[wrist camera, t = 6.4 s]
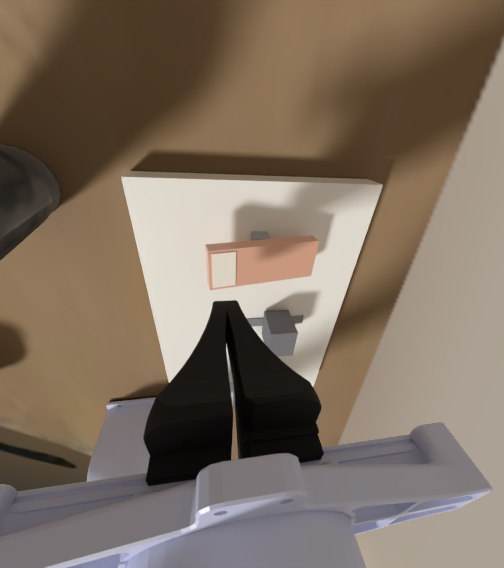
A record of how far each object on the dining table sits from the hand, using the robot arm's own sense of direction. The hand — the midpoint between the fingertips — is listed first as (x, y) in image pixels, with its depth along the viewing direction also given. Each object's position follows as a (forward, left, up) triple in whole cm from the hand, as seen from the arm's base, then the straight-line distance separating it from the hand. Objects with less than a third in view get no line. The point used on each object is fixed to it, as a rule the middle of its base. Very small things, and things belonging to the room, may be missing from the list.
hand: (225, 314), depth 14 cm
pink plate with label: (+3, +1, -4) cm, 5 cm away
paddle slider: (+5, -7, -6) cm, 11 cm away
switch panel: (+3, -7, -9) cm, 11 cm away
